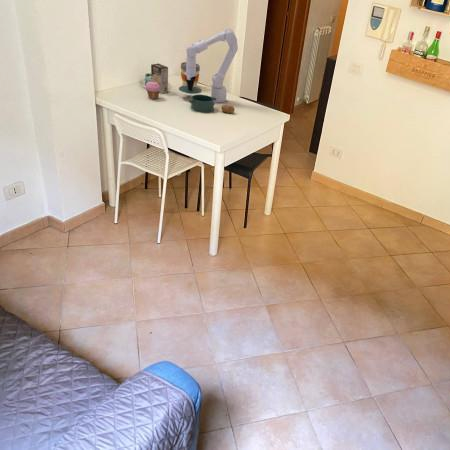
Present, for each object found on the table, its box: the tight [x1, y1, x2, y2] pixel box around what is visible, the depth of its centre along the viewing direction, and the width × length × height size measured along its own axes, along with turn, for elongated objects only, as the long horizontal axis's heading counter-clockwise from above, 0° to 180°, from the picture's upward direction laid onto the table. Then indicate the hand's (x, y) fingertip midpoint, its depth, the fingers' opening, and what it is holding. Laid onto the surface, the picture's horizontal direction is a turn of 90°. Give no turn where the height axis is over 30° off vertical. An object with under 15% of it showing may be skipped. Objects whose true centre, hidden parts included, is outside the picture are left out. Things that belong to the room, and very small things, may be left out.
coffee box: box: [150, 63, 169, 94], centre depth 275 cm, size 9×6×16 cm
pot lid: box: [178, 85, 203, 95], centre depth 274 cm, size 14×14×5 cm
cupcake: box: [145, 81, 161, 100], centre depth 264 cm, size 9×9×10 cm
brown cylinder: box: [220, 104, 236, 114], centre depth 265 cm, size 8×5×5 cm, turn 91°
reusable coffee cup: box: [180, 61, 201, 88], centre depth 293 cm, size 13×13×15 cm
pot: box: [187, 94, 216, 113], centre depth 263 cm, size 13×19×6 cm
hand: (190, 88), depth 274 cm, fingers closed on pot lid, 2 cm apart
